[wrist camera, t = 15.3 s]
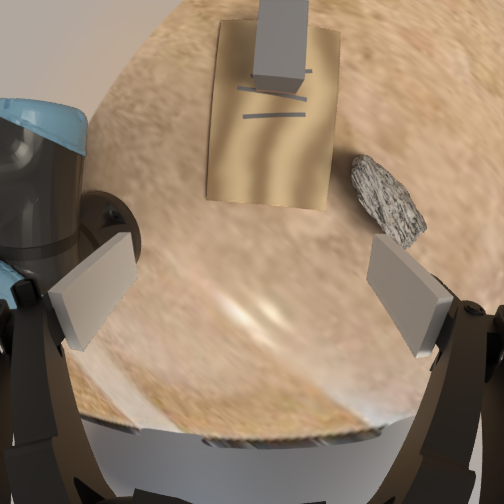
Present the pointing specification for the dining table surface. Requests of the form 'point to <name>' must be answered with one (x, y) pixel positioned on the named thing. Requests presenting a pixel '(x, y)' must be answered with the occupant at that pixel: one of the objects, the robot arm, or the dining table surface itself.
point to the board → (272, 124)
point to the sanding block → (281, 45)
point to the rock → (387, 201)
